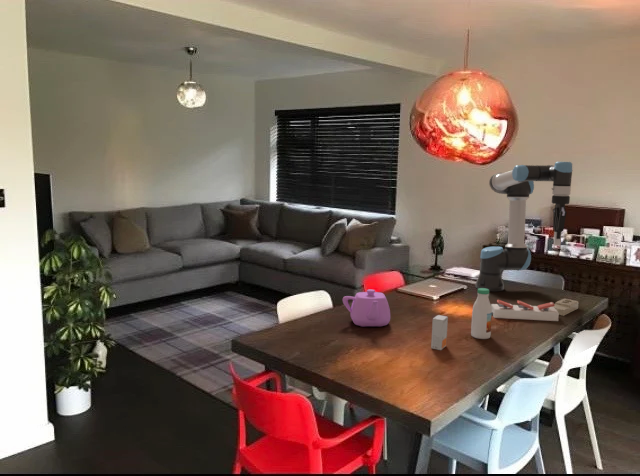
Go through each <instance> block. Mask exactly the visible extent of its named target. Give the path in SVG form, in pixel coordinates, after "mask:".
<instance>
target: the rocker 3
mask: <svg viewBox="0 0 640 476" xmlns="http://www.w3.org/2000/svg"><path fill="white" fill-rule="evenodd" d="M554 304H555V303H554V302H553V301H550V302H547V303H543V304H538V305H536V306H537V307H538V309H539V310H541V309H545V308H549V307H553V306H555V305H554Z"/></svg>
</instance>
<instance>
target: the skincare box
mask: <svg viewBox="0 0 640 476" xmlns="http://www.w3.org/2000/svg"><path fill="white" fill-rule="evenodd" d="M448 319H449V317H448V316H446V315H440V314H438V315H437V314H436V315H435V316H434V317H433V318H432V321H431V322H432V323H431V324H432V325H431V326H432V327H431V344H430V348H431V349H433V350H438V351H443V349H444V348H445V347H447V338H448V322H449V320H448Z"/></svg>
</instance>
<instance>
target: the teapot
mask: <svg viewBox="0 0 640 476" xmlns="http://www.w3.org/2000/svg"><path fill="white" fill-rule="evenodd" d="M349 300H352V302H351V306H350V304H349ZM342 303H343V305H344V307H346V309H347V310H348V312H350V314H349V315H350V318H351V320H352V322H353V323H354V325H356V326H360V327H379V328H380V327H383V326H387V325H388V324H389V322H390V321H391V310H390V306H389V302H388V300H387V297H386V296H385V294H384V293H383V292H378V291H376V289H366V291H360V292H356V294H355V295H354V296H351V295H346V296H345V295H344V296H343V298H342Z"/></svg>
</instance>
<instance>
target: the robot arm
mask: <svg viewBox="0 0 640 476" xmlns="http://www.w3.org/2000/svg"><path fill="white" fill-rule="evenodd" d="M572 176H573V163H572V161H556V162H555V163H554V165H553V164H548V165H544V164H543V165H537V164H536V165H533V164H532V165H527V164H525V165H524V164H519V165H518V164H516V165H514V166H513V168H512V170H509V171H506V172H497V173H495V174H493V175H492V176H491V177H490V178H489V183H488V185H489V187H490V189H491V190H492V191H494V192H495V193H497V194H501V195H506V198H507V199H508V200H509V205H508V206H509V207H508V229H507V230H508V231H507V232H508V233H507V234H508V235H507V243H506V244H505V246H504V248H503V247H502V246H487V247H484V248H482V249H481V251H480V256H479V258H480V262H479V275H478V277H477V279H476V283H475V288H476V289H477V290H478V289H479V288H486V289H489V292H502V291H504V290H505V285H504V281H503V277H502V272H503V271H525V270H527V269H528V267H529V266H530V264H531V262H532V255H531V253H532V252H531V251H530V250H529V249H528V246H527V245H526V244H525V236H526V235H525V233H526V211H527V210H526V209H527V200H528V199H529V198H530V195H532V194H533V192H534V189H535V184H534V182H553V183H552V187H551V191H552V196H551V203H552V204H555V207H554V208H553V209H552V212H553V219H552V220H553V223H552V225H553V226H552V228H553V231H554V235H553V246H557V247H561V245H562V244H561V243H562V233H563V232H564V230H565V229H564V228H565V223H566V216H567V214H568V212H567V211H566V209H567V208H566V205H569V204H570V201H571V199H570V198H571V197H570V195H571V188H572V187H571V186H572Z"/></svg>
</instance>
